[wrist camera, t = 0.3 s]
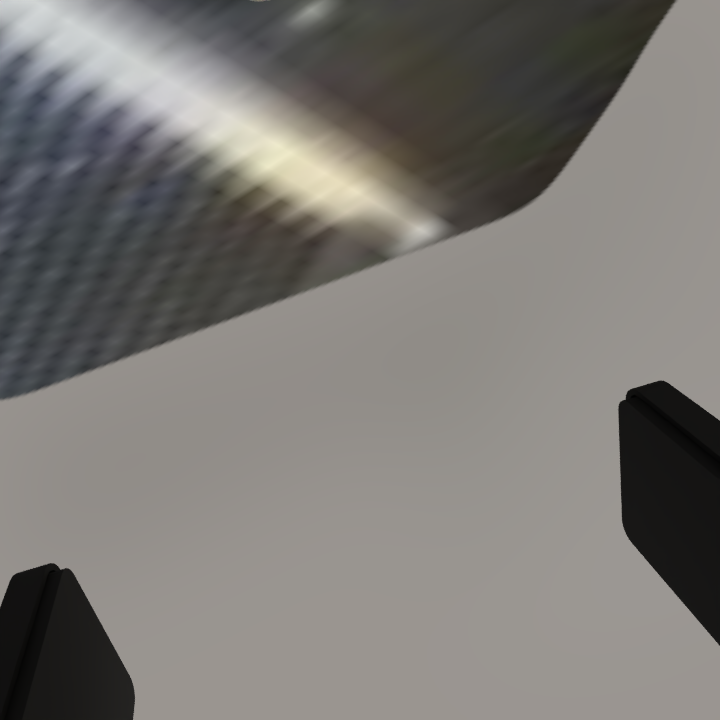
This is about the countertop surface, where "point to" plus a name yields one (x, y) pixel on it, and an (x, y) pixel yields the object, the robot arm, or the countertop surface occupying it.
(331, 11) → the countertop surface
